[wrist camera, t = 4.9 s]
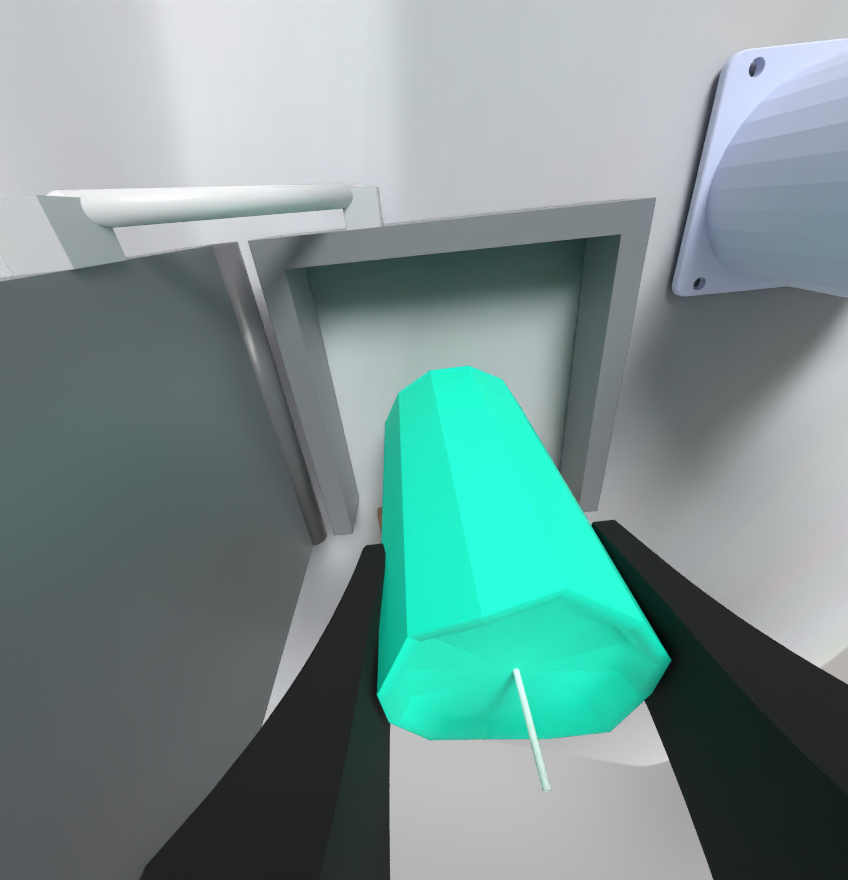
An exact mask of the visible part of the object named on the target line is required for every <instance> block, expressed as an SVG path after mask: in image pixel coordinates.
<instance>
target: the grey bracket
mask: <svg viewBox="0 0 848 880" xmlns="http://www.w3.org/2000/svg"><path fill="white" fill-rule="evenodd" d="M655 202H656V198H641V199H623V200H610V201H600V202H591V203H581V204H572V205H563V206H553V207H544V208H534V209H525V210H516V211H506V212H497V213H487V214H478V215H468V216H459V217H450V218H440V219H431V220H421V221H412V222H403V223H393V224H384V225H383V218H382V210H381V202H380V194H379V188H378V187H377V186H376V185H374V186H364V187H360V186H359V185H357V184H309V185H266V186H222V187H179V188H135V189H91V190H56V191H52V192H50V193H48V194H47V195H46V196H40V195H34V196H25V197H16V198H6V199H0V255H1V257H2V258H3V260H4V262H5V263H6V265H7V267H8V268H9V270H10V272H11V273H12V275H13V276H10V277H4V278H0V880H139V879H140V877H141V874H142V872H143V870H144V868H145V866H146V865H147V864H148V862H149V861H150V860H151V859H152V858H153V857H154V856H155V854H156V853H157V852H158V851H159V850H160V849H161V848H162V847H163V846H164V844H165V843H166V842H167V841H168V840H169V839H170V838H171V836H172V835H173V834H174V833H175V832H176V831H177V830H178V829H179V827H180V826H181V825H182V824H183V823H184V822H185V821H186V819H187V818H188V817H189V816H190V815H191V814H192V813H193V812H194V810H195V809H196V808H197V807H198V806H199V805H200V804H201V802H202V801H203V800H204V799H205V798H206V797H207V795H208V794H209V793H210V792H211V791H212V789H213V788H214V787H215V786H216V785H217V783H218V782H219V781H220V780H221V778H222V777H223V776H224V775H225V773H226V772H227V771H228V770H229V768H230V767H231V766H232V765H233V763H234V762H235V761H236V760H237V758H238V757H239V756H240V755H241V753H242V752H243V751H244V750H245V748H246V747H247V746H248V745H249V743H250V742H251V741H252V739H253V738H254V737H255V736H256V734H257V733H258V732H259V730H260V729H261V727H262V724H263V720H264V717H265V713H266V710H267V706H268V703H269V699H270V696H271V692H272V689H273V685H274V682H275V678H276V675H277V671H278V668H279V664H280V661H281V657H282V653H283V650H284V646H285V643H286V639H287V636H288V632H289V629H290V625H291V622H292V618H293V615H294V611H295V608H296V604H297V601H298V597H299V594H300V590H301V587H302V583H303V579H304V576H305V572H306V569H307V565H308V562H309V558H310V555H311V551H312V548H313V545H317V544H320V543H321V542H323V541H324V540H325V539H326V537H327V532H326V529H325V526H324V523H323V519H322V516H321V513H320V510H319V506H318V503H317V500H316V496H315V493H314V490H313V487H312V483H311V480H310V477H309V474H308V470H307V467H306V464H305V461H304V457H303V454H302V451H301V447H300V444H299V441H298V438H297V434H296V431H295V428H294V425H293V421H292V418H291V415H290V411H289V408H288V405H287V402H286V398H285V395H284V392H283V389H282V385H281V382H280V379H279V375H278V372H277V369H276V366H275V362H274V359H273V356H272V353H271V349H270V346H269V343H268V339H267V336H266V333H265V330H264V326H263V323H262V320H261V317H260V313H259V310H258V307H257V303H256V300H255V297H254V294H253V290H252V287H251V284H250V281H249V277H248V274H247V271H246V268H245V264H244V261H243V258H242V254H241V251H240V248H239V245H238V242H229V243H220V244H211V245H204V246H196V247H188V248H182V249H175V250H169V251H163V252H157V253H151V254H145V255H139V256H133V257H125V255H124V253H123V251H122V248H121V246H120V244H119V242H118V239H117V237H116V235H115V233H114V231H113V228H114V227H126V226H138V225H150V224H162V223H174V222H186V221H198V220H210V219H223V218H235V217H247V216H259V215H271V214H283V213H295V212H307V211H319V210H331V209H343V212H344V218H345V224H346V229H337V230H327V231H318V232H308V233H299V234H290V235H280V236H272V237H267V238H261V239H256V240H250V241H248V243H249V246H250V250H251V253H252V257H253V260H254V264H255V267H256V270H257V274H258V277H259V281H260V284H261V287H262V291H263V294H264V298H265V301H266V304H267V308H268V311H269V315H270V318H271V322H272V325H273V328H274V332H275V335H276V339H277V342H278V345H279V349H280V352H281V356H282V359H283V362H284V366H285V369H286V373H287V376H288V380H289V383H290V386H291V390H292V393H293V397H294V400H295V403H296V407H297V410H298V414H299V417H300V421H301V424H302V427H303V431H304V434H305V438H306V441H307V444H308V448H309V451H310V455H311V458H312V461H313V465H314V468H315V472H316V475H317V479H318V482H319V485H320V489H321V492H322V496H323V499H324V502H325V506H326V509H327V513H328V516H329V519H330V523H331V526H332V530H333V533H334V535H342V534H353V529H354V523H355V517H356V512H357V506H358V500H359V495H358V491H357V487H356V482H355V478H354V474H353V469H352V465H351V461H350V456H349V452H348V448H347V443H346V439H345V435H344V430H343V426H342V422H341V417H340V413H339V409H338V404H337V400H336V396H335V391H334V387H333V383H332V378H331V374H330V370H329V365H328V361H327V357H326V352H325V348H324V344H323V339H322V335H321V331H320V326H319V322H318V318H317V313H316V309H315V305H314V300H313V296H312V292H311V287H310V283H309V279H308V274H307V270H306V267H312V266H322V265H331V264H341V263H350V262H360V261H369V260H379V259H389V258H398V257H408V256H417V255H427V254H436V253H446V252H455V251H465V250H474V249H484V248H494V247H503V246H513V245H522V244H532V243H541V242H551V241H560V240H570V239H580V238H586V245H585V254H584V263H583V272H582V280H581V289H580V298H579V307H578V315H577V324H576V333H575V342H574V351H573V359H572V368H571V377H570V386H569V394H568V403H567V412H566V421H565V430H564V438H563V447H562V456H561V465H560V474H561V476H562V477H563V479H564V481H565V482H566V484H567V486H568V487H569V489H570V491H571V492H572V494H573V496H574V497H575V499H576V501H577V502H578V504H579V506H580V508H581V509H582V511H583V512H588V511H597V509H598V504H599V499H600V493H601V488H602V483H603V477H604V472H605V467H606V462H607V456H608V451H609V446H610V440H611V435H612V430H613V424H614V419H615V414H616V408H617V403H618V398H619V393H620V387H621V382H622V377H623V371H624V366H625V361H626V355H627V350H628V345H629V340H630V334H631V329H632V324H633V318H634V313H635V308H636V302H637V297H638V292H639V287H640V281H641V276H642V271H643V265H644V260H645V255H646V249H647V244H648V239H649V234H650V228H651V223H652V218H653V212H654V207H655ZM15 275H16V276H15Z"/></svg>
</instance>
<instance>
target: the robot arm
mask: <svg viewBox="0 0 848 880" xmlns="http://www.w3.org/2000/svg"><path fill="white" fill-rule="evenodd" d="M753 61H754V62H755V64H756V71H755V73H754V75H753V76H752V77H750V75H749V67H750V65H751V63H752V62H753ZM698 278H700V282H699V284H698V286H697V287H695V288H693V284H694V282H695V281H696V280H697V279H698ZM785 286H789V287H794V288H799V289H804V290H809V291H814V292H820V293H825V294H830V295H835V296H840V297H845V298H848V38H843V39H834V40H826V41H817V42H808V43H799V44H790V45H781V46H772V47H763V48H754V49H746V50H743V51H740V52H738V53H736V54H734V55H733V56H731V57H730V58H729V59H728V60H727V61H726V63H725V64H724V66H723V68H722V71H721V73H720V78H719V82H718V86H717V91H716V95H715V100H714V104H713V108H712V113H711V117H710V121H709V126H708V130H707V134H706V139H705V143H704V147H703V152H702V156H701V161H700V165H699V169H698V174H697V178H696V182H695V187H694V191H693V195H692V200H691V204H690V208H689V213H688V217H687V222H686V226H685V230H684V235H683V239H682V243H681V248H680V252H679V256H678V261H677V265H676V269H675V274H674V278H673V283H672V291H673V293H674V294H676V295H678V296H682V297H687V296H696V295H706V294H716V293H726V292H736V291H746V290H755V289H765V288H775V287H785ZM592 528H593V529H594V531H595V533H596V534H597V536H598V538H599V539H600V541H601V543H602V544H603V546H604V548H605V549H606V551H607V553H608V555H609V556H610V558H611V560H612V561H613V563H614V565H615V566H616V568H617V570H618V571H619V573H620V575H621V576H622V578H623V580H624V581H625V583H626V585H627V586H628V588H629V590H630V591H631V593H632V595H633V596H634V598H635V600H636V601H637V603H638V605H639V606H640V608H641V610H642V612H643V613H644V615H645V617H646V618H647V620H648V622H649V623H650V625H651V627H652V628H653V630H654V632H655V633H656V635H657V637H658V638H659V640H660V642H661V643H662V645H663V647H664V648H665V650H666V652H667V653H668V655H669V657H670V659H671V662H670V664H669V665H668V667H667V669H666V670H665V672H664V674H663V675H662V677H661V679H660V680H659V682H658V684H657V686H656V687H655V689H654V691H653V692H652V694H651V695H650V696H649V697H648V698H646V699H645V700H644V701H645V703H646V705H647V707H648V709H649V711H650V714H651V716H652V719H653V721H654V724H655V726H656V728H657V731H658V733H659V736H660V738H661V741H662V743H663V746H664V748H665V751H666V753H667V755H668V758H669V761H670V763H671V766H672V768H673V771H674V773H675V776H676V779H677V781H678V784H679V786H680V789H681V791H682V794H683V797H684V799H685V802H686V805H687V807H688V810H689V813H690V815H691V818H692V821H693V824H694V827H695V829H696V832H697V835H698V837H699V840H700V843H701V846H702V848H703V851H704V854H705V857H706V859H707V862H708V865H709V868H710V871H711V874H712V877H713V879H714V880H848V684H846V683H844V682H843V681H841V680H839V679H837V678H836V677H834V676H832V675H831V674H829V673H827V672H825V671H824V670H822V669H820V668H818V667H817V666H815V665H813V664H812V663H810V662H808V661H807V660H805V659H803V658H802V657H800V656H798V655H797V654H795V653H793V652H792V651H790V650H789V649H787V648H785V647H784V646H782V645H781V644H779V643H778V642H776V641H775V640H773V639H772V638H770V637H768V636H767V635H765V634H764V633H762V632H761V631H759V630H758V629H756V628H754V627H753V626H751V625H750V624H749V623H747V622H746V621H744V620H743V619H741V618H740V617H738V616H737V615H735V614H734V613H733V612H731V611H730V610H728V609H727V608H726V607H724V606H723V605H721V604H720V603H719V602H717V601H716V600H714V599H713V598H712V597H710V596H709V595H707V594H706V593H705V592H703V591H702V590H701V589H700V588H698V587H697V586H696V585H694V584H693V583H692V582H690V581H689V580H688V579H686V578H685V577H684V576H683V575H681V574H680V573H679V572H678V571H676V570H675V569H674V568H672V567H671V566H670V565H669V564H667V563H666V562H665V561H664V560H662V559H661V558H660V557H659V556H658V555H656V554H655V553H654V552H653V551H652V550H650V549H649V548H648V547H647V546H645V545H644V544H643V543H642V542H641V541H639V540H638V539H637V538H636V537H635V536H633V535H632V534H631V533H630V532H629V531H627V530H626V529H625V528H624V527H623V526H621V525H620V524H619V523H618V522H617V521H615V520H609V521H599V522H593V523H592ZM385 559H386V553H385V549H384V545H383V544H375V545H366V546H365V547H364V548H363V550H362V553H361V556H360V558H359V561H358V563H357V566H356V568H355V571H354V573H353V575H352V577H351V580H350V582H349V584H348V586H347V588H346V590H345V592H344V594H343V596H342V598H341V600H340V602H339V604H338V606H337V608H336V610H335V612H334V614H333V616H332V618H331V620H330V622H329V624H328V625H327V627H326V629H325V631H324V633H323V634H322V636H321V638H320V640H319V641H318V643H317V645H316V647H315V648H314V650H313V652H312V653H311V655H310V657H309V658H308V660H307V662H306V663H305V665H304V666H303V668H302V670H301V671H300V673H299V674H298V676H297V677H296V679H295V680H294V682H293V683H292V685H291V686H290V688H289V689H288V691H287V692H286V694H285V695H284V697H283V698H282V700H281V701H280V702H279V704H278V705H277V707H276V708H275V710H274V711H273V712H272V714H271V715H270V716H269V718H268V719H267V721H266V722H265V723H264V725H263V726H262V727H261V729H260V730H259V732H258V733H257V734H256V736H255V737H254V738H253V739H252V741H251V742H250V743H249V745H248V746H247V747H246V748H245V750H244V751H243V752H242V753H241V755H240V756H239V757H238V758H237V760H236V761H235V762H234V763H233V765H232V766H231V767H230V768H229V770H228V771H227V772H226V773H225V775H224V776H223V777H222V778H221V780H220V781H219V782H218V783H217V785H216V786H215V787H214V788H213V789H212V791H211V792H210V793H209V794H208V795H207V797H206V798H205V799H204V800H203V801H202V802H201V804H200V805H199V806H198V807H197V808H196V809H195V810H194V812H193V813H192V814H191V815H190V816H189V817H188V818H187V819H186V821H185V822H184V823H183V824H182V825H181V826H180V827H179V829H178V830H177V831H176V832H175V833H174V834H173V835H172V836H171V838H170V839H169V840H168V841H167V842H166V843H165V844H164V846H163V847H162V848H161V849H160V850H159V851H158V852H157V853H156V854H155V856H154V857H153V858H152V859H151V860H150V861H149V862H148V864H147V865H146V866H145V868H144V870H143V872H142V874H141V877H140V879H139V880H390V833H389V832H390V831H389V764H390V762H389V760H390V758H389V757H390V748H389V747H390V723H389V721H388V719H387V717H386V714H385V712H384V710H383V708H382V705H381V703H380V701H379V699H378V696H377V681H378V646H379V624H380V614H381V605H382V595H383V585H384V575H385Z"/></svg>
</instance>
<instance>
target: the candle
mask: <svg viewBox="0 0 848 880" xmlns="http://www.w3.org/2000/svg"><path fill="white" fill-rule="evenodd" d="M382 544H383V545H384V549H385V553H386V559H385V575H384V585H383V595H382V605H381V614H380V624H379V646H378V681H377V696H378V699H379V701H380V703H381V705H382V708H383V710H384V712H385V714H386V717H387V719H388V721H389V723H391V724H394V725H396V726H398V727H400V728H403V729H405V730H407V731H410V732H412V733H414V734H417V735H419V736H421V737H423V738H426V739H428V740H470V739H530V742H531V746H532V750H533V754H534V758H535V762H536V766H537V770H538V773H539V778H540V782H541V785H542V789H543V792H544V793H545V792H550V791H551V787H550V784H549V780H548V776H547V773H546V769H545V765H544V761H543V758H542V754H541V750H540V746H539V742H538V739H552V738H561V737H570V736H579V735H588V734H597V733H606V732H611V731H612V730H613V729H614V728H615V727H616V726H617V725H618V724H619V723H620V722H621V721H622V720H624V719H625V718H626V717H627V716H628V715H629V714H630V713H631V712H632V711H633V710H634V709H636V708H637V707H638V706H639V705H640V704H641V703H642V702H643V701H644V700H645V699H646V698H648V697H649V696H650V695H651V694H652V692H653V691H654V689H655V687H656V686H657V684H658V682H659V680H660V679H661V677H662V675H663V674H664V672H665V670H666V669H667V667H668V665H669V664H670V662H671V659H670V657H669V655H668V653H667V652H666V650H665V648H664V647H663V645H662V643H661V642H660V640H659V638H658V637H657V635H656V633H655V632H654V630H653V628H652V627H651V625H650V623H649V622H648V620H647V618H646V617H645V615H644V613H643V612H642V610H641V608H640V606H639V605H638V603H637V601H636V600H635V598H634V596H633V595H632V593H631V591H630V590H629V588H628V586H627V585H626V583H625V581H624V580H623V578H622V576H621V575H620V573H619V571H618V570H617V568H616V566H615V565H614V563H613V561H612V560H611V558H610V556H609V555H608V553H607V551H606V549H605V548H604V546H603V544H602V543H601V541H600V539H599V538H598V536H597V534H596V533H595V531H594V529H593V528H592V526H591V524H590V523H589V521H588V519H587V518H586V516H585V514H584V513H583V511H582V509H581V508H580V506H579V504H578V502H577V501H576V499H575V497H574V496H573V494H572V492H571V491H570V489H569V487H568V486H567V484H566V482H565V481H564V479H563V477H562V476H561V474H560V472H559V471H558V469H557V467H556V466H555V464H554V462H553V461H552V459H551V457H550V456H549V454H548V452H547V450H546V449H545V447H544V445H543V444H542V442H541V440H540V439H539V437H538V435H537V434H536V432H535V430H534V429H533V427H532V425H531V424H530V422H529V420H528V419H527V417H526V415H525V414H524V412H523V410H522V409H521V407H520V405H519V404H518V402H517V401H516V399H515V398H514V396H513V395H512V393H511V392H510V390H509V389H508V387H507V386H506V384H505V383H504V381H503V380H502V379H500V378H497V377H495V376H493V375H490V374H488V373H485V372H483V371H481V370H478V369H476V368H473V367H471V366H463V367H454V368H446V369H438V370H430V371H429V372H427V373H426V374H424V375H423V376H421V377H420V378H419V379H417V380H416V381H414V382H413V383H411V384H410V385H409V386H407V387H406V388H404V389H403V390H401V391H400V392H399V393H398V395H397V398H396V400H395V402H394V404H393V406H392V409H391V411H390V413H389V415H388V418H387V420H386V422H385V442H384V476H383V510H382Z"/></svg>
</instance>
